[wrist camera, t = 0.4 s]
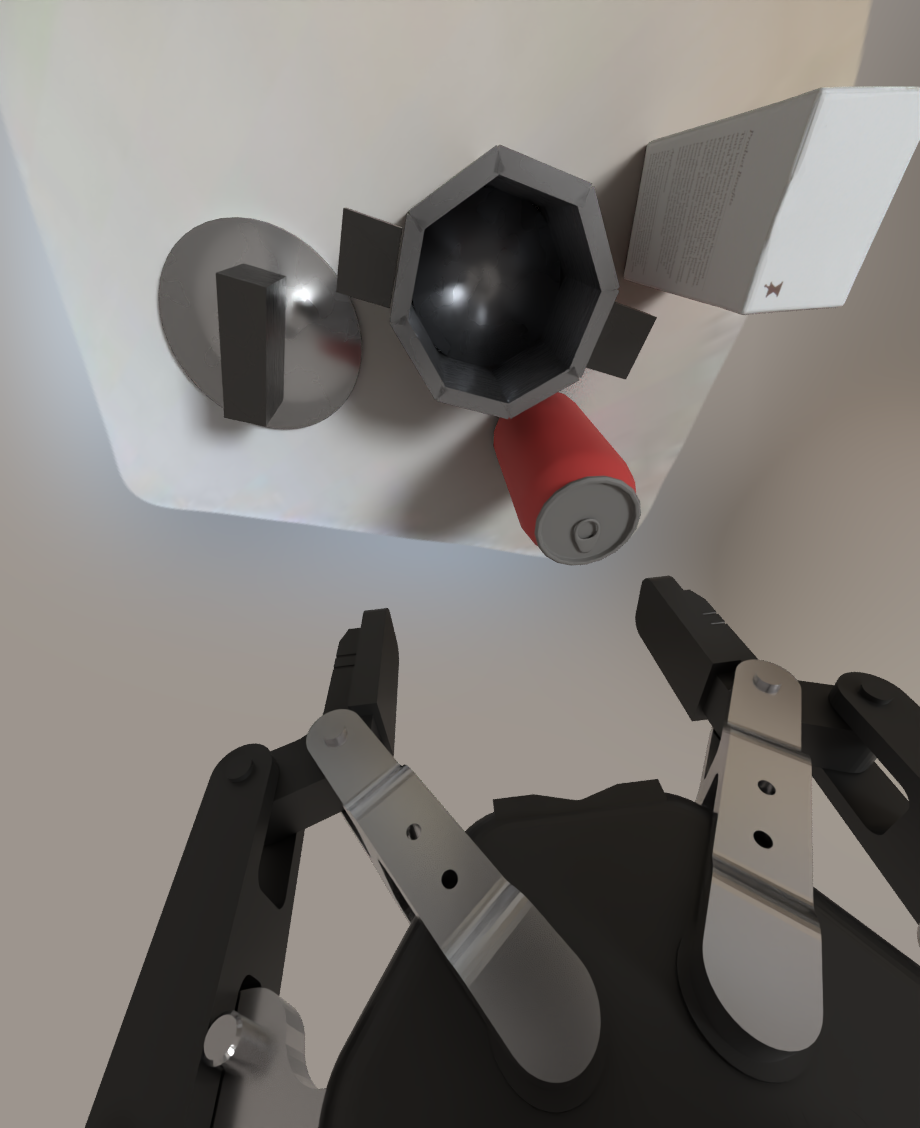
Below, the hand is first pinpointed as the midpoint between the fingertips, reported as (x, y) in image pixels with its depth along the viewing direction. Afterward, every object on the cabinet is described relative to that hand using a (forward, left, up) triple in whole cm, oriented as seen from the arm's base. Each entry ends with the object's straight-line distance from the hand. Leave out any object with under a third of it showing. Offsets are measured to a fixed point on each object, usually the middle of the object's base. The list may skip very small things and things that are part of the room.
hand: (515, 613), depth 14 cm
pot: (-7, 0, -20) cm, 21 cm away
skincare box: (-13, +9, -21) cm, 26 cm away
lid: (-1, -12, -21) cm, 24 cm away
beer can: (+1, +6, -21) cm, 22 cm away
